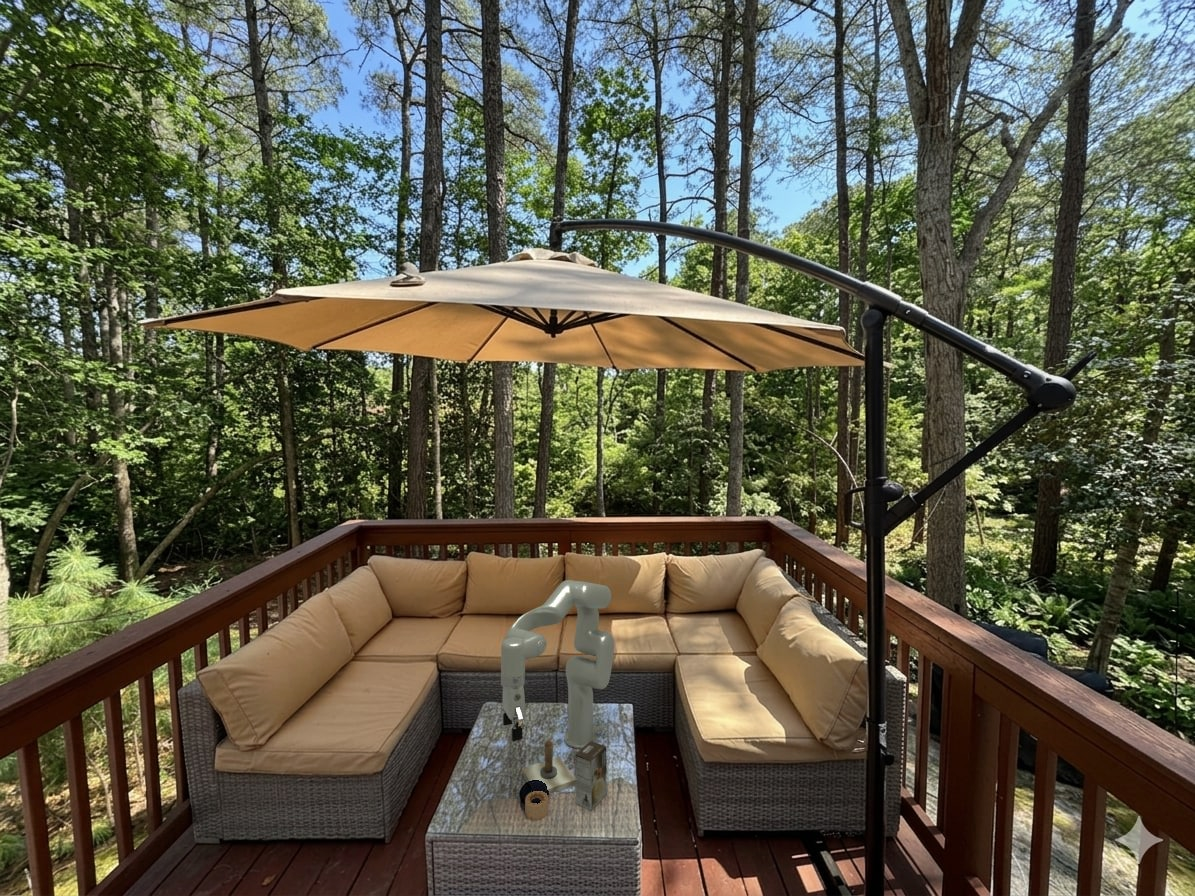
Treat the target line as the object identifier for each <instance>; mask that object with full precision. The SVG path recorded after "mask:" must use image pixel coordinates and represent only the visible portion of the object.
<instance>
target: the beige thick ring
mask: <svg viewBox="0 0 1195 896" xmlns="http://www.w3.org/2000/svg"><path fill="white" fill-rule="evenodd" d="M535 798H539V799H540V800H541V801H540V803H538V804H537V803H532V802H531V801H532V800H533V799H535ZM549 802H550V801H549V795H547V793H545V792H543V791H533V792H532V791H531V792H529V793H528V794H527V795H526V796H525V800H524V809H525V810H524V813H525V815H526V817H527V818H528V819H530V820H541V819H543V818H545V817H546V816H547V815H548V814H549V808H550V807H549Z"/></svg>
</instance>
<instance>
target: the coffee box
mask: <svg viewBox="0 0 1195 896" xmlns="http://www.w3.org/2000/svg"><path fill="white" fill-rule="evenodd" d="M607 768H608V767H607V746H606V745H604V744H601V743H598V742H592V741H590V742H589V743H588V744H586V745H585V746H584V747H583V748H580V749H579V751H578V752H577V753H576V754H575V778H576V786H575V804H576V805H578V806H581V807H583V808H585V809H587V810H590V811H593V810H594V809H595V807H597V805H599V803H600V802H601V801H602V799H604V798H605V797H606V795H608V794H607V780H608V778H607Z"/></svg>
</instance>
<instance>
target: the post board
mask: <svg viewBox="0 0 1195 896" xmlns="http://www.w3.org/2000/svg"><path fill="white" fill-rule="evenodd" d="M553 745H554V743H553V741H551V740H550V739H548V740H546V741H545V743H544V761H542V762H538V763H534V764H531V765H528V766H525V767H522V768H521V775H522V777H523V778H524V780H525V781H532V780H539V781H542V782H543V783H545V784H546V786H547V790H548V791H549V793H550V795H553V794H555V793H554V792H556V793H558V792H562V791H564V790H567V789H570V788H572V787H576V776H574V774H573V773H572V772H571V770H570V769H569V767H567V765H566V764H565V762H564V761H563V760H562V759H561V757H560V756H556V757H554V758H553V755H554V754H553V752H554V751H553V749H554V747H553ZM561 790H562V791H561ZM552 793H553V794H552Z"/></svg>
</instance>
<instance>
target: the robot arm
mask: <svg viewBox="0 0 1195 896" xmlns="http://www.w3.org/2000/svg"><path fill="white" fill-rule="evenodd" d="M611 601H612V591H611V590H610V588H609V587H608V586H607V585H603V584H599V583H593V582H587V581H580V580H578V581H577V580H572V579H567V580H564V581H562V582H561V583H560V584H559V585H558V586H557V587H556V588H555V590H554V591H553V592H552V594H551V595H550V596H549V597H548V599H547V600H546V601H545V602H544V603H543V604H542V605H541V606H538V607H535V608H534V609H531V610H530V611H528V612H525V613H523V614H522V615H521V616H519V617H518V618H517V619H516V621H514V622H513V624H512V625H511V626H510V627H509V629H508V630H507V632H506V634H505V638H504V640H503V641H502V642H501V645H500V646H501V647H500V648H501V652H500V654H501V655H500V658H501V659H500V686H501V687H502V707H503V709H502V710H503V713H502V714H503V715H502V717H503V720H502V725H503V726H510V725H512V728H511V741H512V742H517V741H520V740H523V727H524V725H523V724H524V718H525V717H526V702H525V701H526V699H525V688H524V687H525V683H526V661H527V660H530V659H535V658H537V657H540V656H541V655H542V654H544V652H545V651H546V649H547V639H546V637H545V636H544V635H542V634H541V633H538V632H534V631H533V630H535V629H538V628H542V627H549V626H553V625H558V624H559V623H561V622H562V621H563V619H564V618H565V617H566V616H567V614H568V613H569V612H570V610H571V609H572V607H574V606H575V608H576V611H577V612H576V613H577V617H576V624H575V625H576V626H575V631H574V632H575V633H574V639H573V647H574V649H575V650H576V651H577V652H578V653H582V654H585V655H588V656H592V657H595V659H593V658H590V657H586V656H582V655H574V656H572V657H570V658H569V659H568V660H567V662H566V665H565V676H566V682H567V689H568V693H567V694H568V695H567V696H568V698H567V699H568V700H567V702H568V703H567V705H568V707H567V713H568V714H567V716H568V717H567V719H568V720H567V721H568V722H567V723H568V724H567V725H568V726H567V731H566V732H565V733H564V735H563V736H564V737H563V740H564V742H565V744H566V745H567V746H568V747H571V748H573V749H574V748H575V749H582V748H583V747H584V746H585V745H586V744H588V743H589V742H590V741H592V742H595V743H597V742H598V741H597V740H598V734H597V733H598V732H601V731H604V730H605V725H604V724H603V723H602V724H599V723H598V722H595V723H594V693H593V689H597V690H604V689H605V688H607V686H608V685H609V681H610V678H611V674H612V665H613V659H614V651H615V650H614V649H615V641H614V640H615V639H614V637H613V635H612V634H611V633H610V632H607V631H605V630H601V629H600V630H599V624H600V623H599V622H600V613H599V610H600V609H606V608H607V607H608V606H609V604H610V603H611Z"/></svg>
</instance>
